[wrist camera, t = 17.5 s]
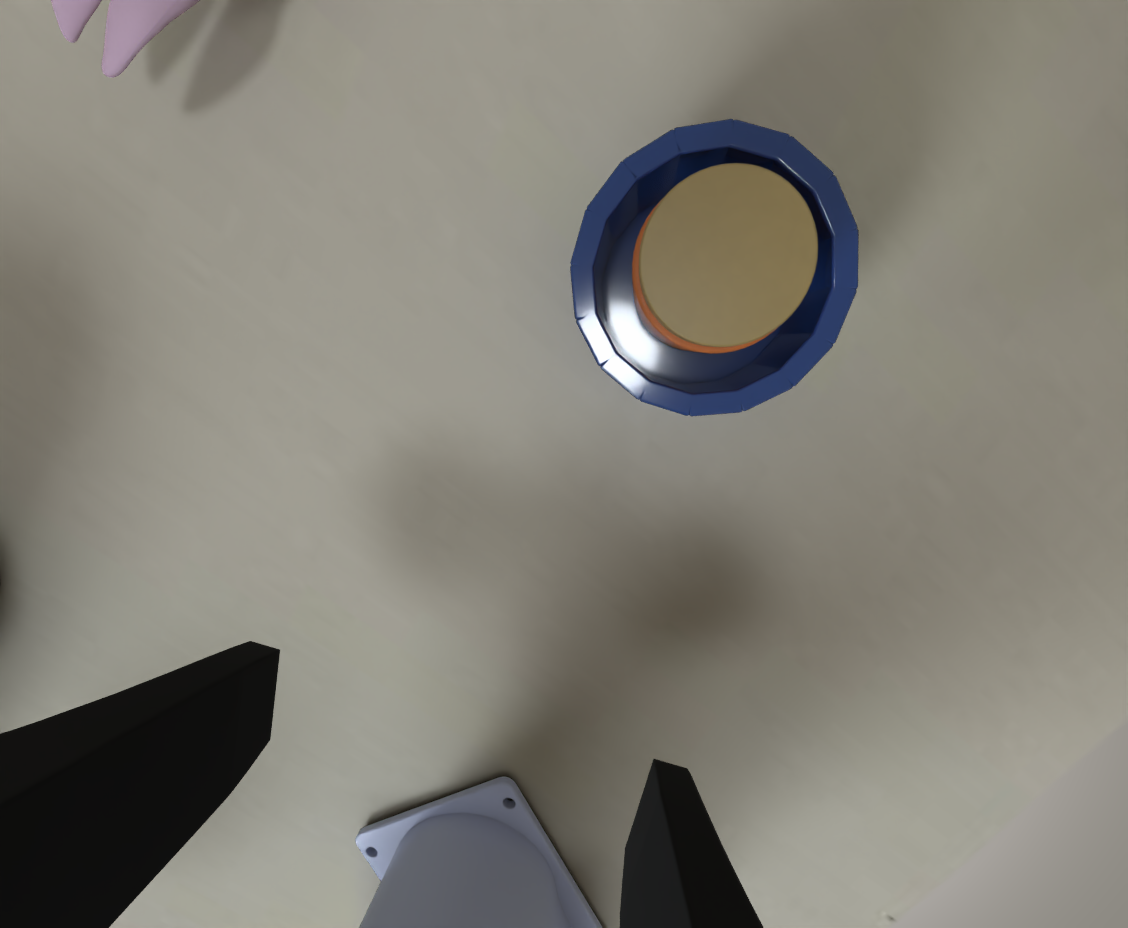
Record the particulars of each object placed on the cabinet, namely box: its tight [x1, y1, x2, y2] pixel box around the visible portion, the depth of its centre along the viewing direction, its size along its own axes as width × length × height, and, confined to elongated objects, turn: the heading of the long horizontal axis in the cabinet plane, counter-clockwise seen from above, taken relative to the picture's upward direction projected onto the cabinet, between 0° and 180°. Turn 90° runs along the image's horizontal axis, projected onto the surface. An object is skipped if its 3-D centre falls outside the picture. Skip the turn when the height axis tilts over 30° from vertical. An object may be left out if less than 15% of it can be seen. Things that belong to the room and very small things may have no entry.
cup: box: [570, 119, 858, 416], centre depth 15 cm, size 7×7×4 cm
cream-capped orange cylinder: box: [632, 163, 818, 354], centre depth 14 cm, size 4×4×6 cm
